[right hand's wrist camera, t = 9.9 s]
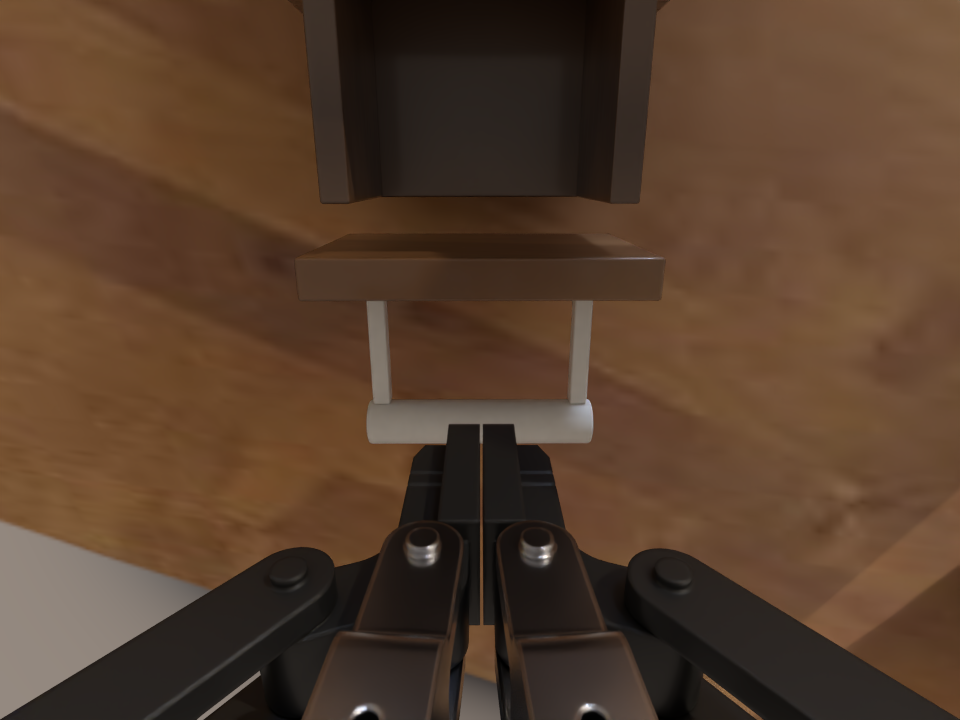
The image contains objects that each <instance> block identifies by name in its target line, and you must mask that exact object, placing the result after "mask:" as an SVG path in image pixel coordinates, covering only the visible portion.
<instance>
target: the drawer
mask: <svg viewBox="0 0 960 720" xmlns="http://www.w3.org/2000/svg"><path fill="white" fill-rule="evenodd" d="M657 1H658V0H302V8H303V19H304V30H305V41H306V52H307V63H308V74H309V84H310V95H311V106H312V117H313V128H314V139H315V150H316V161H317V172H318V183H319V194H320V202H321V203H322V204H349V203H354V202H359V201H363V200H368V199H373V198H378V197H582V198H587V199H591V200H596V201H601V202H606V203H611V204H629V203H639V202H640V191H641V180H642V169H643V158H644V146H645V135H646V124H647V113H648V102H649V91H650V80H651V68H652V57H653V46H654V35H655V24H656V13H657ZM665 261H666V260H665V258H664V257H661V256H659V255H657V254H654V253H652V252H650V251H648V250H645V249H643V248H641V247H638V246H636V245H634V244H632V243H629V242H627V241H625V240H622V239H620V238H618V237H616V236H613V235H611V234H349V235H346V236H344V237H342V238H340V239H337V240H335V241H333V242H331V243H328V244H326V245H324V246H322V247H320V248H317V249H315V250H313V251H311V252H308V253H306V254H304V255H302V256H299V257H297V258H295V259H294V264H295V274H296V283H297V292H298V299H299V300H300V301H366V303H367V317H368V332H369V346H370V360H371V375H372V389H373V400H371V401H370V403H369V405H368V410H367V421H366V426H367V436H368V440H369V442H370V443H372V444H428V443H447V434H448V426H449V424H480V443H483V424H514V427H515V435H516V443H589V442H590V441H591V439H592V435H593V411H592V406H591V403H590V401H589V400H588V399H587V385H588V370H589V355H590V340H591V325H592V310H593V301H659V300H661V298H662V289H663V279H664V270H665ZM387 301H572V320H571V338H570V356H569V374H568V393H567V397H568V399H408V400H391V399H392V382H391V364H390V347H389V329H388V312H387Z"/></svg>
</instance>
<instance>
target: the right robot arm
mask: <svg viewBox="0 0 960 720" xmlns="http://www.w3.org/2000/svg"><path fill="white" fill-rule="evenodd" d="M552 472H553V471H552V467H551V463H550V458H549V457H548V455H547V454H546V453H545V452H544V451H543V450H542V449H541V448H540V447H539V446H538V445H517V444H516V435H515V427H514V424H483V623H484V625H495V672H496V681H497V690H498V698H499V707H500V716H501V720H756V719H755V718H754V717H752V716H751V715H750V714H748V713H747V712H746V711H745V710H743V709H742V708H741V707H739V706H738V705H737V704H736V703H734V702H733V701H732V700H730V699H729V698H728V697H727V696H725V695H724V694H723V693H722V692H720V691H719V690H718V689H716V688H715V687H714V686H713V685H711V684H710V683H709V682H707V681H706V680H705V679H704V678H703V674H706V675H707V676H708V677H709V678H711V679H712V680H713V681H715V682H716V683H717V684H719V685H720V686H721V687H722V688H724V689H725V690H726V691H728V692H729V693H730V694H732V695H733V696H734V697H735V698H737V699H738V700H739V701H741V702H742V703H743V704H744V705H746V706H747V707H748V708H750V709H751V710H752V711H754V712H755V713H756V714H757V715H759V716H760V717H761V718H762V719H764V720H960V719H958V718H956V717H955V716H953V715H952V714H950V713H948V712H947V711H945V710H943V709H942V708H940V707H938V706H937V705H935V704H934V703H932V702H930V701H929V700H927V699H925V698H924V697H922V696H920V695H919V694H917V693H915V692H914V691H912V690H911V689H909V688H907V687H906V686H904V685H902V684H901V683H899V682H897V681H896V680H894V679H892V678H891V677H889V676H888V675H886V674H884V673H883V672H881V671H879V670H878V669H876V668H874V667H873V666H871V665H870V664H868V663H866V662H865V661H863V660H861V659H860V658H858V657H856V656H855V655H853V654H851V653H850V652H848V651H847V650H845V649H843V648H842V647H840V646H838V645H837V644H835V643H833V642H832V641H830V640H828V639H827V638H825V637H824V636H822V635H820V634H819V633H817V632H815V631H814V630H812V629H810V628H809V627H807V626H805V625H804V624H802V623H801V622H799V621H797V620H796V619H794V618H792V617H791V616H789V615H787V614H786V613H784V612H783V611H781V610H779V609H778V608H776V607H774V606H773V605H771V604H769V603H768V602H766V601H764V600H763V599H761V598H760V597H758V596H756V595H755V594H753V593H751V592H750V591H748V590H746V589H745V588H743V587H741V586H740V585H738V584H737V583H735V582H733V581H732V580H730V579H728V578H727V577H725V576H723V575H722V574H720V573H719V572H717V571H715V570H714V569H712V568H710V567H709V566H707V565H705V564H704V563H702V562H700V561H699V560H697V559H695V558H693V557H692V556H690V555H687V554H685V553H682V552H679V551H676V550H670V549H661V548H658V549H649V550H645V551H642V552H640V553H638V554H636V555H635V556H634V557H633V558H632V559H631V560H630V562H629V564H628V567H626V566H621V565H617V564H613V563H609V562H605V561H602V560H598V559H596V558H593V557H591V556H589V555H587V554H586V553H584V552H583V551H581V550H580V549H579V548H578V546H577V543H576V541H575V539H574V538H573V537H572V535H571V534H570V533H569V532H568V531H566V529H565V525H564V520H563V516H562V511H561V507H560V502H559V498H558V494H557V489H556V486H555V480H554V476H553V473H552ZM469 625H480V424H449V426H448V434H447V443H446V445H425V446H424V447H423V448H422V449H421V450H420V451H419V452H418V453H417V454H416V455H415V456H414V458H413V462H412V467H411V471H410V476H409V481H408V486H407V490H406V495H405V499H404V504H403V508H402V513H401V518H400V522H399V527H398V528H397V529H395V530H394V531H392V532H391V533H390V534H389V535H388V537H387V538H386V539H385V541H384V543H383V546H382V548H381V551H380V553H379V554H377V555H375V556H373V557H371V558H368V559H366V560H363V561H360V562H356V563H352V564H348V565H343V566H339V567H335V568H334V563H333V561H332V559H331V558H330V556H328V555H327V554H326V553H324V552H323V551H321V550H318V549H315V548H309V547H298V548H290V549H286V550H282V551H279V552H277V553H274V554H272V555H270V556H268V557H266V558H264V559H263V560H261V561H260V562H258V563H256V564H255V565H253V566H251V567H250V568H248V569H246V570H245V571H243V572H242V573H240V574H238V575H237V576H235V577H233V578H232V579H230V580H228V581H227V582H225V583H223V584H222V585H220V586H219V587H217V588H215V589H214V590H212V591H210V592H209V593H207V594H205V595H204V596H202V597H200V598H199V599H197V600H196V601H194V602H192V603H191V604H189V605H187V606H186V607H184V608H183V609H181V610H179V611H178V612H176V613H174V614H173V615H171V616H169V617H168V618H166V619H164V620H163V621H161V622H159V623H158V624H156V625H155V626H153V627H151V628H150V629H148V630H146V631H145V632H143V633H141V634H140V635H138V636H136V637H135V638H133V639H132V640H130V641H128V642H127V643H125V644H123V645H122V646H120V647H119V648H117V649H115V650H113V651H112V652H110V653H109V654H107V655H105V656H104V657H102V658H100V659H99V660H97V661H95V662H94V663H92V664H91V665H89V666H87V667H86V668H84V669H82V670H81V671H79V672H77V673H76V674H74V675H72V676H71V677H69V678H68V679H66V680H64V681H63V682H61V683H59V684H58V685H56V686H54V687H53V688H51V689H50V690H48V691H46V692H45V693H43V694H41V695H40V696H38V697H36V698H35V699H33V700H31V701H30V702H28V703H27V704H25V705H23V706H22V707H20V708H18V709H17V710H15V711H13V712H12V713H10V714H8V715H7V716H5V717H4V718H2V719H0V720H197V719H198V718H199V717H200V716H201V715H203V714H204V713H205V712H206V711H208V710H209V709H210V708H212V707H213V706H214V705H216V704H217V703H218V702H219V701H221V700H222V699H223V698H225V697H226V696H227V695H228V694H230V693H231V692H232V691H234V690H235V689H236V688H238V687H239V686H240V685H241V684H243V683H244V682H245V681H247V680H248V679H249V678H251V677H252V676H253V675H254V674H256V673H257V672H258V671H260V674H261V675H260V676H259V677H258V678H256V679H255V680H254V681H253V682H251V683H250V684H249V685H248V686H246V687H245V688H244V689H242V690H241V691H240V692H239V693H237V694H236V695H235V696H233V697H232V698H231V699H230V700H228V701H227V702H226V703H224V704H223V705H222V706H221V707H219V708H218V709H217V710H215V711H214V712H213V713H212V714H210V715H209V716H208V717H206V718H205V719H204V720H459V716H460V707H461V698H462V690H463V681H464V672H465V654H466V652H467V649H468V643H469Z"/></svg>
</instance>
